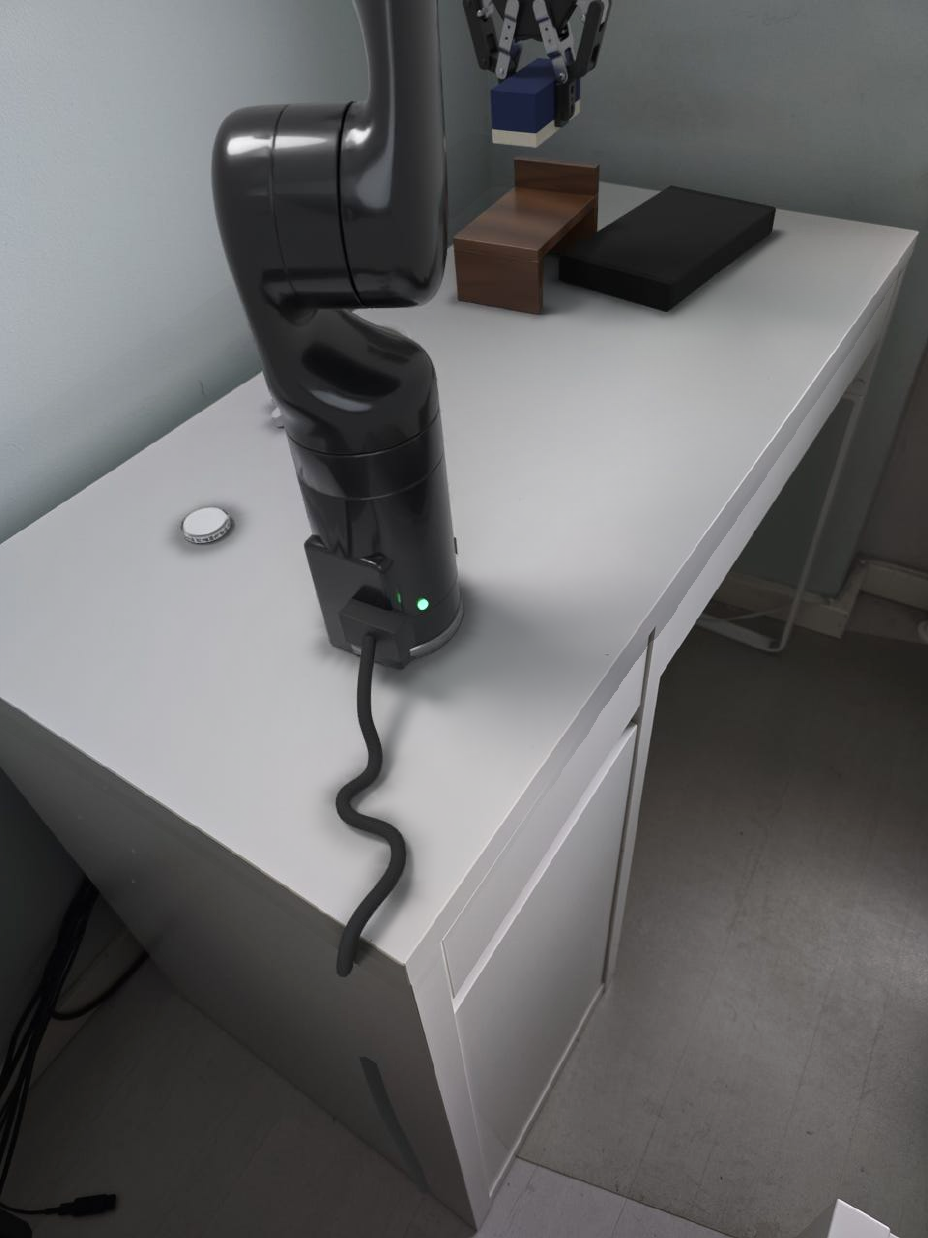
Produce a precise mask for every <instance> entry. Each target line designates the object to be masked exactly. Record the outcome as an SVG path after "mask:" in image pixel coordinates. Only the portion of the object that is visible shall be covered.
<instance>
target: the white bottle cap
mask: <svg viewBox="0 0 928 1238" xmlns="http://www.w3.org/2000/svg"><path fill="white" fill-rule="evenodd" d="M231 525H232V520H231V517H230V514H229V512H228V511H227V510H226V509H225V508H224V507H223V508H222V507H220V506H214V505H213V506H210V505H209V506H204V507H199V508H197V509H194V510H192V511H191V512H189V513H187V515H185V516H184V518H183V519H182V520H181V522H180V527H179V528H180V531H181V533H182V535H183V537H184V539H186V540H187V541H188V542H191V543H195V544H196V543H197V544H202V543H204V544H205V543H209V542H213V541H216V540H217V539H219V538H222V537H223V536H224V535H225V534H226V533H227V532H228V531H229V530H230V528H231Z"/></svg>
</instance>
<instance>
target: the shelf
mask: <svg viewBox="0 0 928 1238" xmlns="http://www.w3.org/2000/svg"><path fill="white" fill-rule="evenodd" d="M600 166H601V164H600V163H595V162H594V163H593V162H584V161H576V160H565V159H557V158H547V157H537V156H528V155H519V154H518V155H516V156H515V157H514V158H513V175H514V187H513V188H511V189H510V190H509V191H508V192H506V193H505V194H504V195H503V196H501V197H500V198H499V199H497V201H495V202H494V203H493V204H492V205H491V206H489V207H488V208H487V209H486V210H485V211H483V212H482V213H481V214H479V215H478V216H477V217H476V218H475V219H473V220H472V221H470V223H468V224H467V225H466V226H465V227H464V228H462V229H461V230H460V231H459V232H457V233H456V234H454V235H453V237H452V242H453V243H452V244H453V254H454V266H455V278H456V279H455V280H456V289H457V292H456V293H457V300H458V301H463V302H468V303H473V304H479V305H483V306H489V307H494V308H501V309H506V310H510V311H511V310H512V311H517V312H521V313H528V314H533V315H540V314H541V313H542V312H543V311H544V258H543V257H545V255H546V254H547V253H549V252H550V253H557V254H563V253H564V252H566V251H567V250H569V249H571V248H572V247H574V246H575V245H577V244H579V243H580V242H582V241H583V240H585V239H586V238H588V237H590V236H591V235H593V234H594V233H596V232H598V228H599V227H598V224H599V193H600Z"/></svg>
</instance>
